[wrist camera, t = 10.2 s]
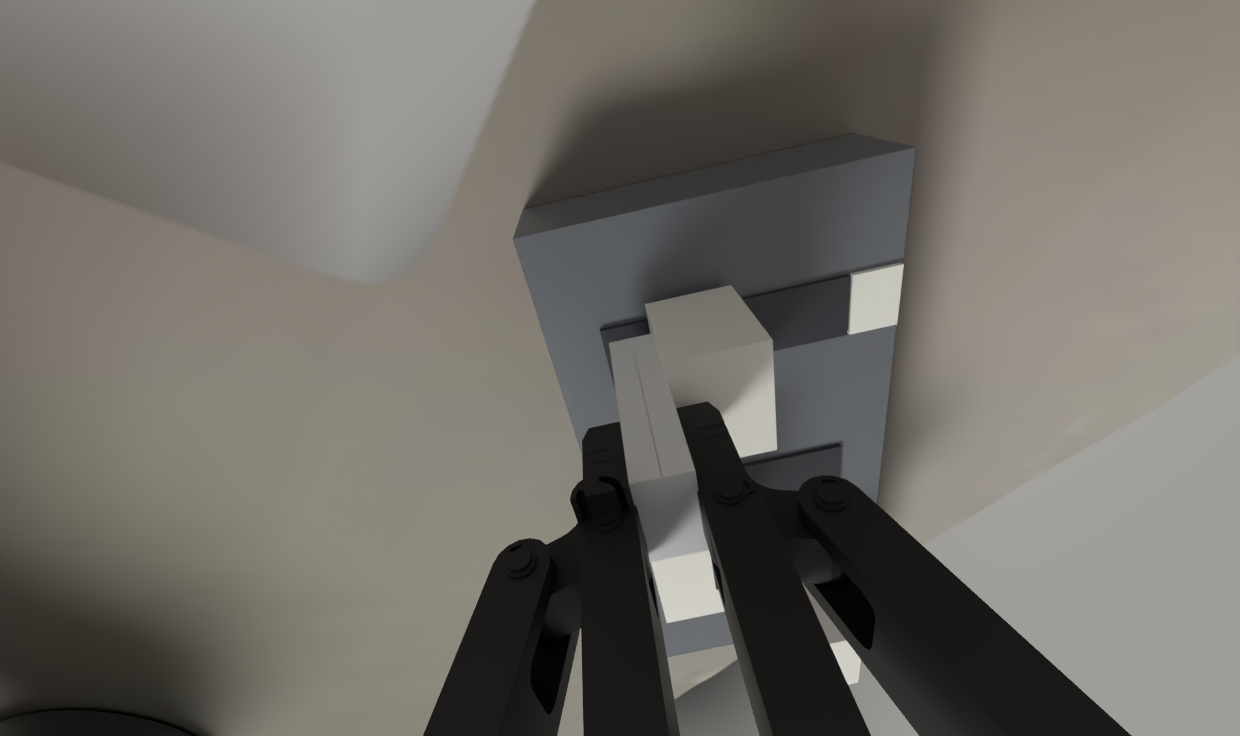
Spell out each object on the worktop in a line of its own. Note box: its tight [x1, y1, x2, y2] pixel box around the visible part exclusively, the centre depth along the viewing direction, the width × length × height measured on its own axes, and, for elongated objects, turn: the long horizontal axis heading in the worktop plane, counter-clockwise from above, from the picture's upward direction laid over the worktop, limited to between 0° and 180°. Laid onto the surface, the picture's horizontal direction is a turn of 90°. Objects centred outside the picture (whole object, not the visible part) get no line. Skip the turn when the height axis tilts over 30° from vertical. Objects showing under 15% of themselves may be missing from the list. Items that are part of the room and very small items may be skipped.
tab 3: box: [802, 582, 861, 684], centre depth 24 cm, size 3×4×4 cm
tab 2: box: [651, 549, 724, 623], centre depth 20 cm, size 3×4×4 cm
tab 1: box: [645, 285, 777, 458], centre depth 16 cm, size 3×4×4 cm
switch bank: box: [513, 134, 916, 657], centre depth 24 cm, size 13×26×4 cm, turn 11°
